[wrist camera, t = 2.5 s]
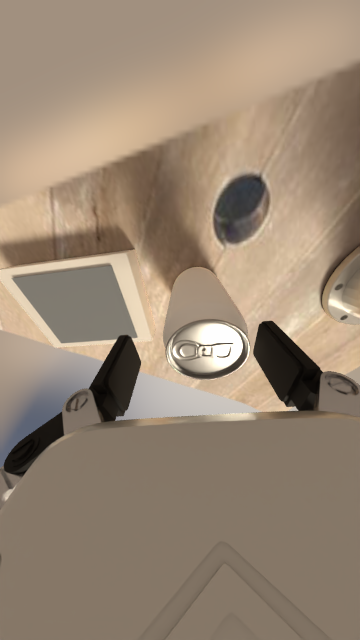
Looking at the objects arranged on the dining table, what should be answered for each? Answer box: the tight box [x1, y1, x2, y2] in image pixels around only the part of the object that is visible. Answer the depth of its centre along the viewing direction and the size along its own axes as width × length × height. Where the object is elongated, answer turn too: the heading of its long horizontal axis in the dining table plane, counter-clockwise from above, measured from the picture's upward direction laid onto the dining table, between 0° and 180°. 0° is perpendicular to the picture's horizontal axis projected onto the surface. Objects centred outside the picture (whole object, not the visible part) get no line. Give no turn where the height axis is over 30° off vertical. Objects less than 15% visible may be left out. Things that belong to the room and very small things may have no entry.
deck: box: [0, 249, 156, 348], centre depth 20 cm, size 16×12×3 cm
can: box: [163, 267, 250, 380], centre depth 15 cm, size 6×6×12 cm
